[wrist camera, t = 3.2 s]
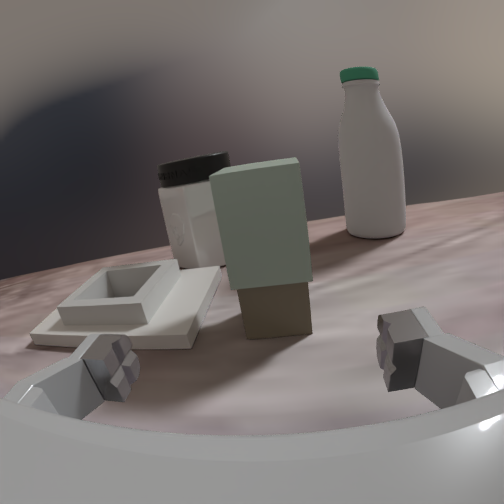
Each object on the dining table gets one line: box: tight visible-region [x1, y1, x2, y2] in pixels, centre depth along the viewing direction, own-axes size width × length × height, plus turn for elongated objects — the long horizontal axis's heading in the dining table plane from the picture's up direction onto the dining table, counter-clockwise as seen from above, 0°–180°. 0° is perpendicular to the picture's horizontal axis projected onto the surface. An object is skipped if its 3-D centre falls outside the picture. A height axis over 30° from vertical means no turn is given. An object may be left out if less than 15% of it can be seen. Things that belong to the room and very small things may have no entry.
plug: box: [209, 157, 313, 339], centre depth 21 cm, size 5×5×11 cm
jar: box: [157, 151, 231, 269], centre depth 36 cm, size 9×8×12 cm
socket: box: [29, 259, 222, 349], centre depth 27 cm, size 16×12×3 cm
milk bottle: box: [338, 67, 406, 239], centre depth 35 cm, size 8×8×20 cm
